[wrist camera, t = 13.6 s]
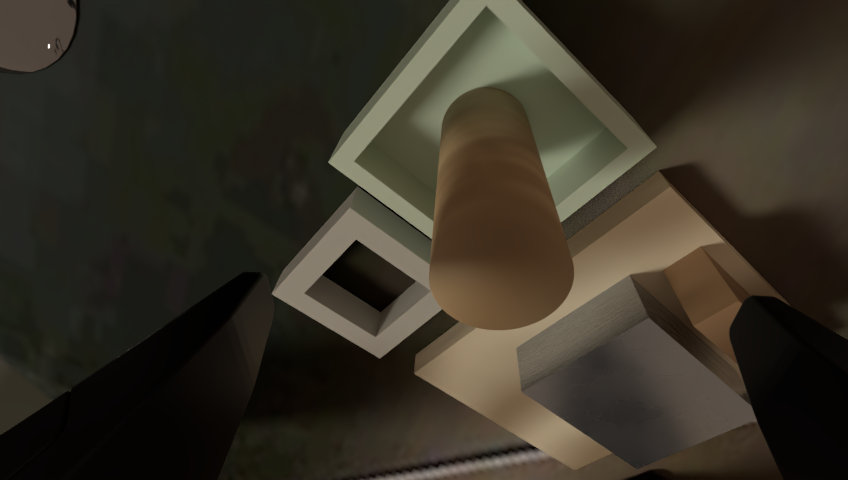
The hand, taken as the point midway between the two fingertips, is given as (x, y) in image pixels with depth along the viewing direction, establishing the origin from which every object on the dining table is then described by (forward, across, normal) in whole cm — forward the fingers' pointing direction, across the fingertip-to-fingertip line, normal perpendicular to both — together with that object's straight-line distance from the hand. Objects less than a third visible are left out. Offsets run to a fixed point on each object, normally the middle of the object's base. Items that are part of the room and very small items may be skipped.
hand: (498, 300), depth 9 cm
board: (+9, -7, +11) cm, 16 cm away
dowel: (+9, 0, 0) cm, 9 cm away
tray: (+9, 0, 0) cm, 9 cm away
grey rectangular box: (+8, -7, +11) cm, 15 cm away
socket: (+9, +4, +7) cm, 12 cm away
